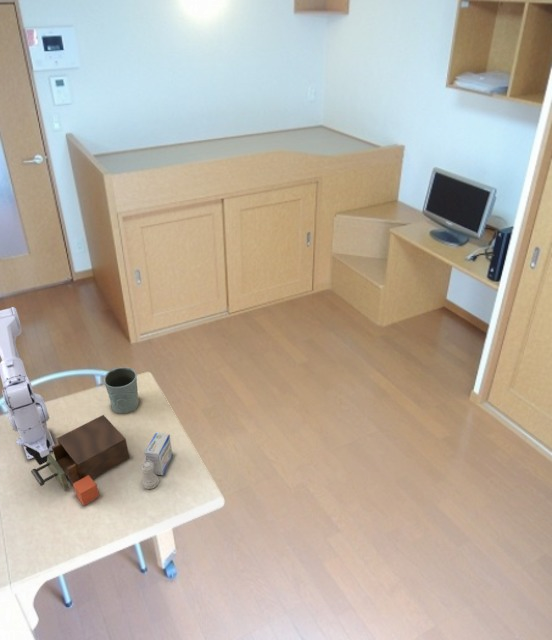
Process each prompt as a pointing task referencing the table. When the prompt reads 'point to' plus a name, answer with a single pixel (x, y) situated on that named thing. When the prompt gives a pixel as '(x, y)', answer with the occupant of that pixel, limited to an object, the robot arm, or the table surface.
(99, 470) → the cabinet
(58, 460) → the drawer
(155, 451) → the medicine box
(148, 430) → the table surface
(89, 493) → the block
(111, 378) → the grey-green pot
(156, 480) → the rook chess piece
